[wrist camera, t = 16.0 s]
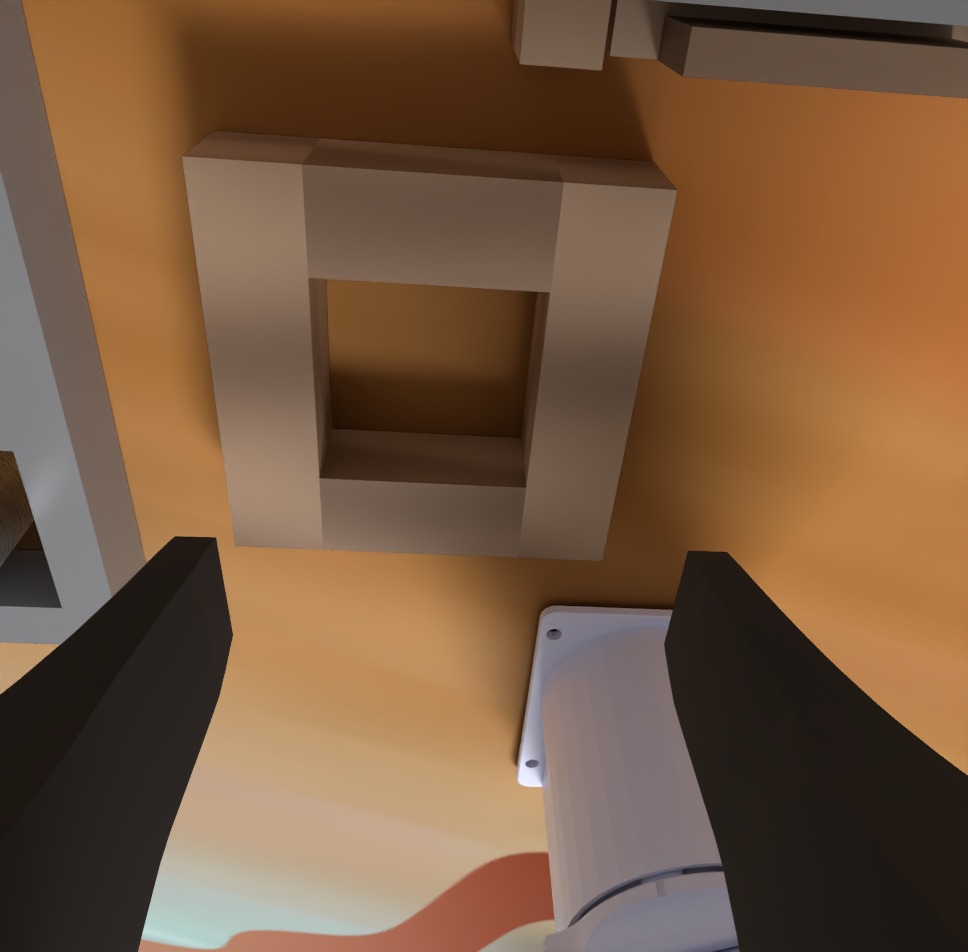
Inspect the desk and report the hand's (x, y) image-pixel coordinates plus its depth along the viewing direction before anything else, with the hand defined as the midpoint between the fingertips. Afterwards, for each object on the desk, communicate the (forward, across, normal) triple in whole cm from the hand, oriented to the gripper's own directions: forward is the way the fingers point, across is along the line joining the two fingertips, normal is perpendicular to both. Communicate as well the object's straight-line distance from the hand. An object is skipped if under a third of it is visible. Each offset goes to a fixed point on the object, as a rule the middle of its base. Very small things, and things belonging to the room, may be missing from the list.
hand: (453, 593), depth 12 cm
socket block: (+10, +1, +1) cm, 10 cm away
